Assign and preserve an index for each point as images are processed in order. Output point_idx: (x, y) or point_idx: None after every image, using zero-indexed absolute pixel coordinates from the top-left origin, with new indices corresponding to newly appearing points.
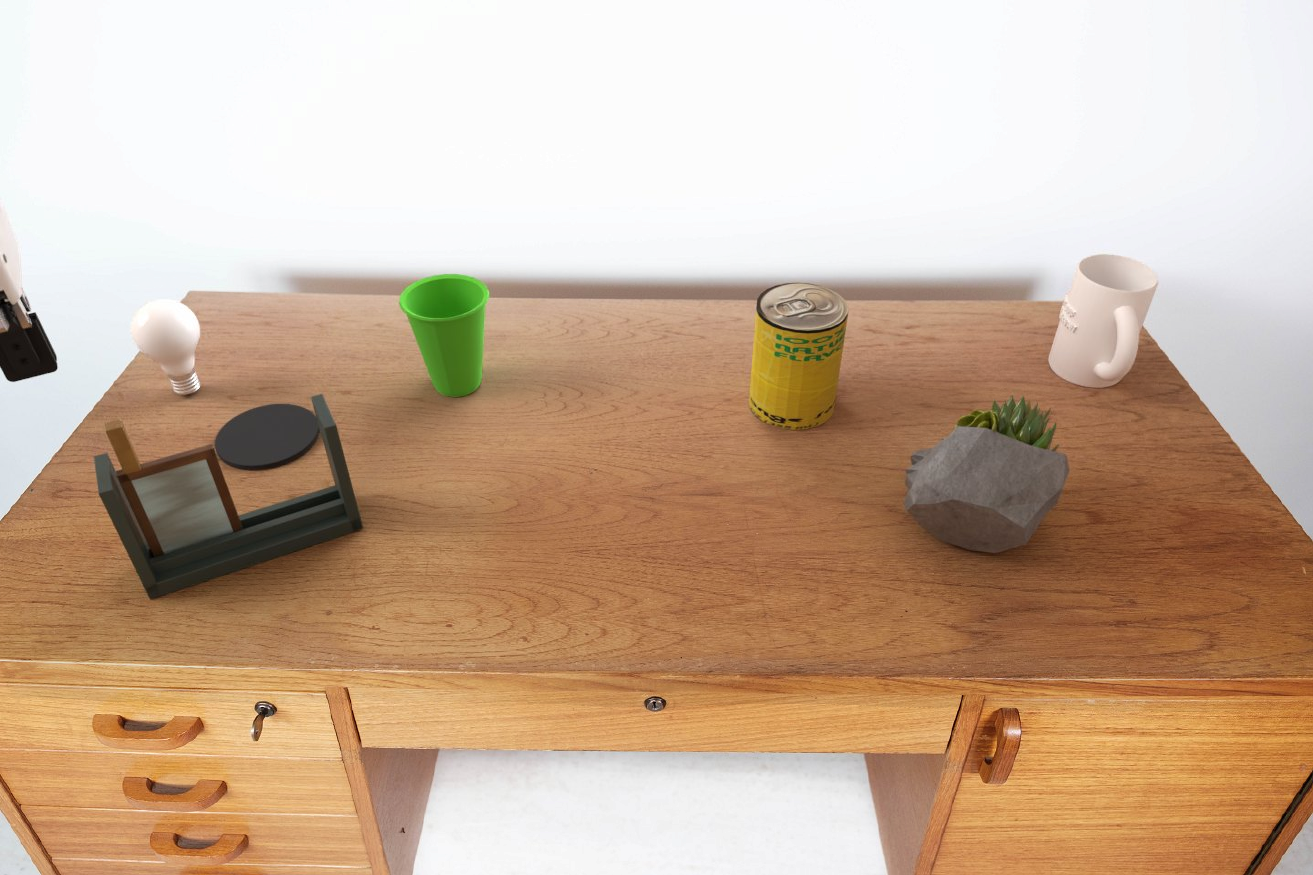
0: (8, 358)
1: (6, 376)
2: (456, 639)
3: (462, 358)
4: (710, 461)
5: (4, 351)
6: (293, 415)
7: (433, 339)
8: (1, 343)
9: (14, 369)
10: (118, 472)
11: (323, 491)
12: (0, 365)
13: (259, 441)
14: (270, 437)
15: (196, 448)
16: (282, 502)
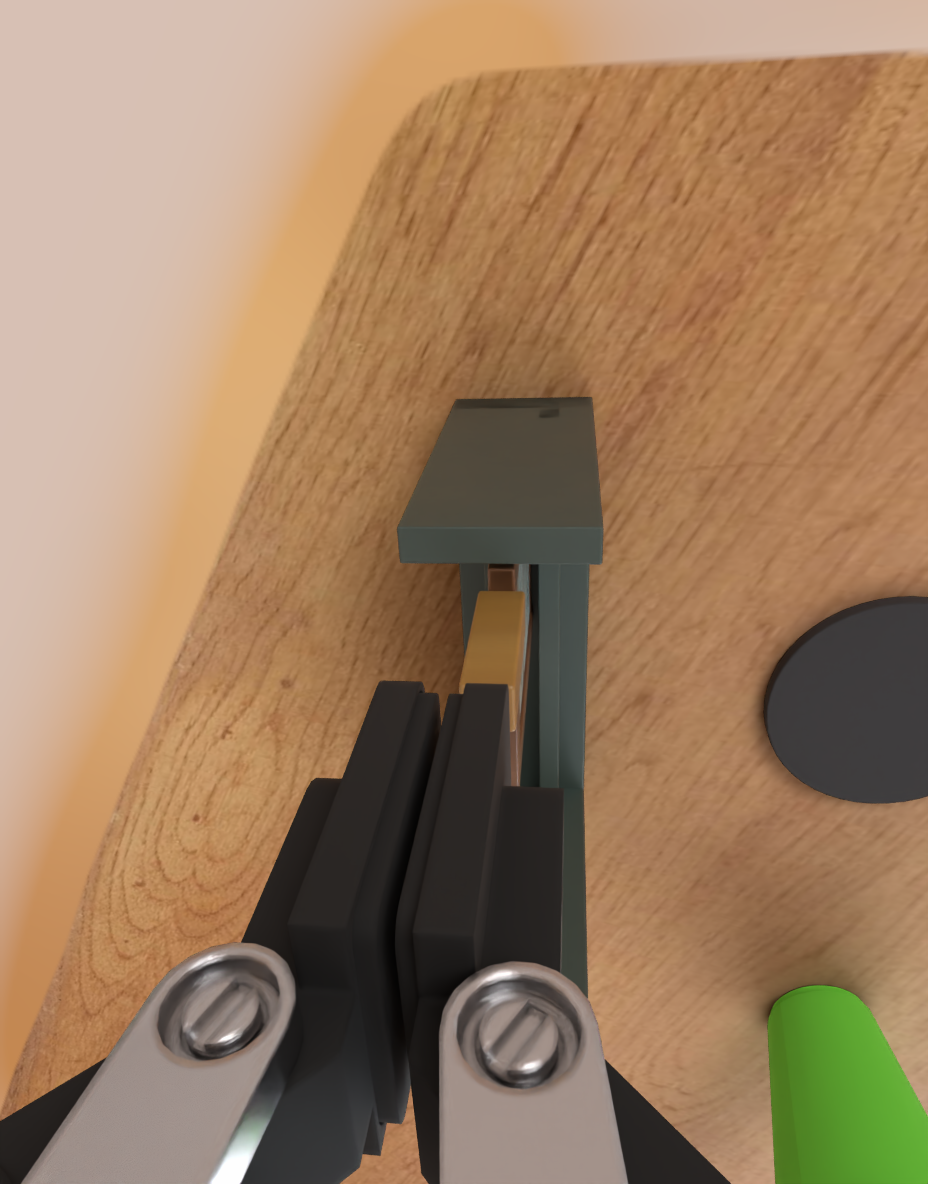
0: (286, 844)
1: (378, 696)
2: (165, 817)
3: (773, 1112)
4: (395, 1164)
5: (266, 885)
6: (923, 769)
7: (805, 1144)
8: (242, 942)
9: (311, 788)
10: (501, 575)
11: (549, 784)
12: (361, 744)
13: (871, 690)
14: (870, 712)
15: (514, 758)
16: (555, 715)
